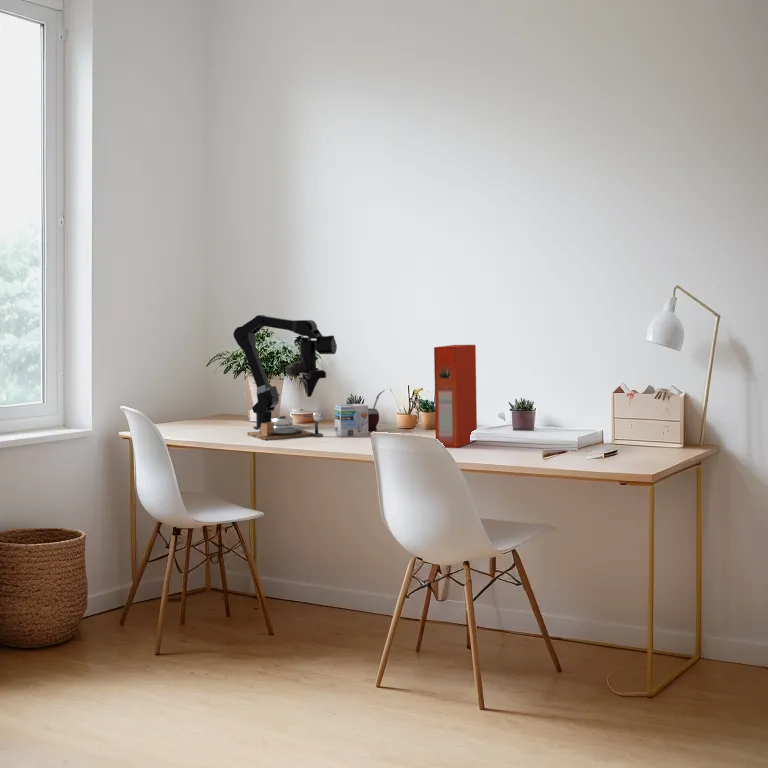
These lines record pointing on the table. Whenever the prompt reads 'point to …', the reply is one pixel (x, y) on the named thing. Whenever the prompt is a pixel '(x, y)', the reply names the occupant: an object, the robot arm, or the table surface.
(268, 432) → the turntable
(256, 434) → the plinth
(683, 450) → the table surface
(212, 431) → the table surface
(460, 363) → the file binder
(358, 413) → the light bulb box
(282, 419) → the cover
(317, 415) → the stand
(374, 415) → the mate gourd
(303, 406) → the table surface
